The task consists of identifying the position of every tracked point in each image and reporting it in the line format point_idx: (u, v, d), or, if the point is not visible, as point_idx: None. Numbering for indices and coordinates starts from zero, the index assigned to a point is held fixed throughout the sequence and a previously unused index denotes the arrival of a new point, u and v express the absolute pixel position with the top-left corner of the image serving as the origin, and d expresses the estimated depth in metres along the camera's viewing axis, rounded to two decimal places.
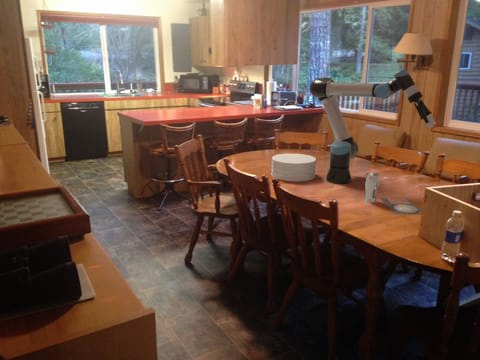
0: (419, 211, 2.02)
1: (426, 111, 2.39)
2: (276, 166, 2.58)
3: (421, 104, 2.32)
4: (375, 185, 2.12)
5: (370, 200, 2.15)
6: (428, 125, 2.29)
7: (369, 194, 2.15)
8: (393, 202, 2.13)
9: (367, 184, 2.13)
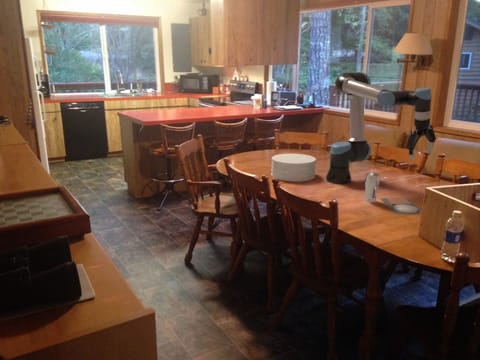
0: (419, 211, 2.02)
1: (429, 138, 2.22)
2: (276, 166, 2.58)
3: (420, 134, 2.16)
4: (375, 185, 2.12)
5: (370, 200, 2.15)
6: (410, 156, 2.21)
7: (369, 194, 2.15)
8: (393, 202, 2.13)
9: (367, 184, 2.13)
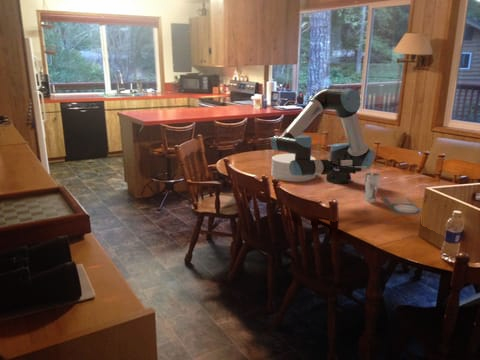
0: (419, 211, 2.02)
1: None
2: (276, 166, 2.58)
3: None
4: (375, 185, 2.12)
5: (370, 200, 2.15)
6: None
7: (369, 194, 2.15)
8: (393, 202, 2.13)
9: (367, 184, 2.13)
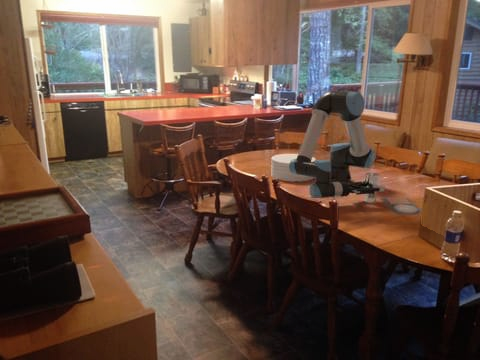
0: (419, 211, 2.02)
1: None
2: (276, 166, 2.58)
3: None
4: (375, 185, 2.12)
5: (370, 200, 2.15)
6: None
7: (369, 194, 2.15)
8: (393, 202, 2.13)
9: (367, 184, 2.14)
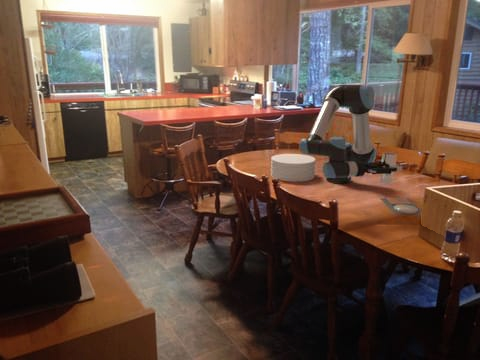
0: (419, 211, 2.02)
1: None
2: (275, 166, 2.58)
3: None
4: (392, 165, 2.02)
5: (386, 181, 2.05)
6: None
7: (385, 175, 2.04)
8: (393, 202, 2.13)
9: (383, 164, 2.03)
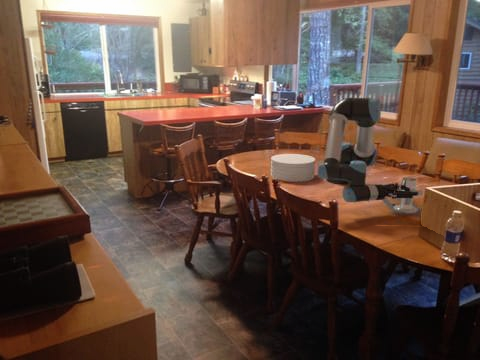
0: (419, 211, 2.02)
1: None
2: (275, 166, 2.58)
3: None
4: None
5: (406, 207, 2.02)
6: None
7: (405, 200, 2.01)
8: (393, 202, 2.13)
9: (403, 190, 2.00)
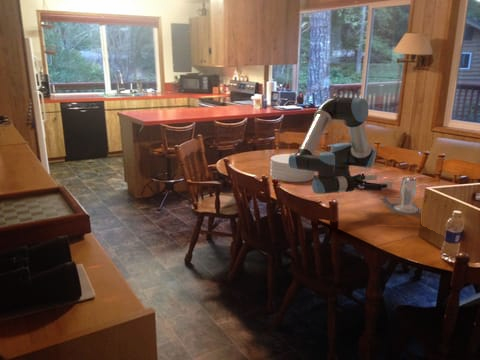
0: (419, 211, 2.02)
1: None
2: (275, 166, 2.58)
3: None
4: (412, 191, 1.99)
5: (406, 207, 2.02)
6: None
7: (405, 200, 2.01)
8: (393, 202, 2.13)
9: (403, 190, 2.00)
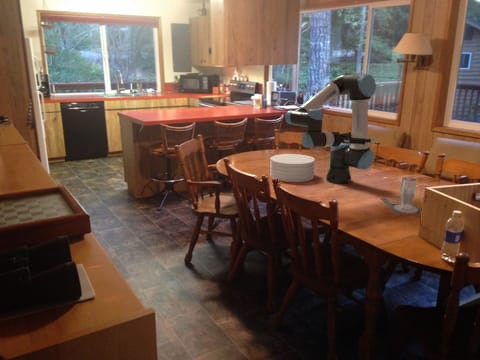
0: (419, 211, 2.02)
1: None
2: (275, 166, 2.57)
3: None
4: (412, 191, 1.99)
5: (406, 207, 2.02)
6: None
7: (405, 200, 2.01)
8: (393, 202, 2.13)
9: (403, 190, 2.00)
